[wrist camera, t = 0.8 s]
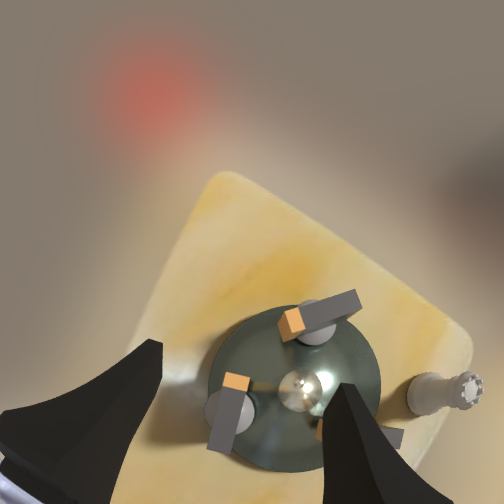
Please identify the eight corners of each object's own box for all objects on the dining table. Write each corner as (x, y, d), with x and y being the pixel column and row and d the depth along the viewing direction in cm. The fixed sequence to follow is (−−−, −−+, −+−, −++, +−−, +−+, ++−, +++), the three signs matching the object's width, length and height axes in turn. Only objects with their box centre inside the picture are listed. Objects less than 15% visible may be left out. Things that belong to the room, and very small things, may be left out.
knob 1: (246, 445, 21) (247, 458, 17) (197, 433, 21) (188, 444, 17) (262, 382, 23) (267, 381, 19) (214, 370, 23) (208, 367, 19)
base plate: (356, 474, 21) (366, 481, 18) (191, 449, 21) (187, 455, 19) (385, 324, 27) (396, 318, 25) (233, 292, 28) (232, 283, 26)
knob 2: (332, 293, 27) (349, 274, 22) (347, 334, 25) (368, 322, 21) (272, 311, 26) (279, 295, 22) (286, 355, 24) (297, 349, 20)
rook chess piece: (397, 408, 23) (447, 409, 16) (413, 366, 25) (464, 354, 18) (429, 420, 23) (481, 422, 15) (444, 380, 24) (496, 371, 17)
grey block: (380, 411, 22) (407, 414, 18) (371, 453, 20) (396, 463, 16) (321, 405, 22) (338, 409, 18) (310, 449, 21) (325, 461, 16)
